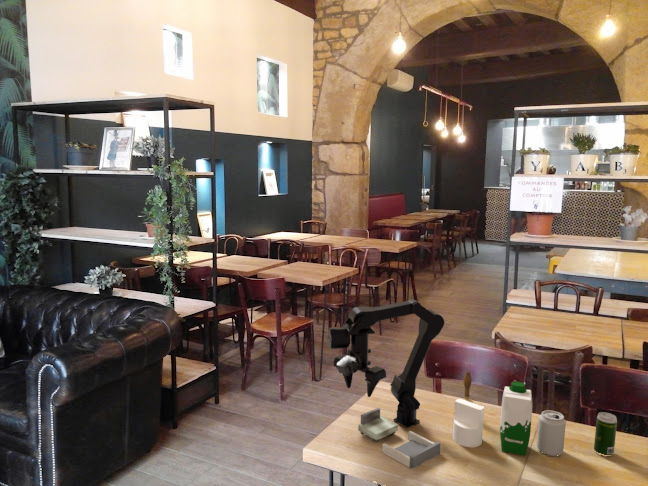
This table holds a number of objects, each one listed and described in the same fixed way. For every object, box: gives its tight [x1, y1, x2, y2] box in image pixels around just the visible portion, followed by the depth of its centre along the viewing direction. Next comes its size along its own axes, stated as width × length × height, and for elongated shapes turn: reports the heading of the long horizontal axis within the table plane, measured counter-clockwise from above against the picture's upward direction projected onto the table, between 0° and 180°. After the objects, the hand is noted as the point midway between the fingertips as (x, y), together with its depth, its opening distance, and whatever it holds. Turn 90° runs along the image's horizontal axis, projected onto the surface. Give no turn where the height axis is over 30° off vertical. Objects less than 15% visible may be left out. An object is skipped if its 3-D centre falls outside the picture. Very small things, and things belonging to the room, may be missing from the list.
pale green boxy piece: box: [357, 407, 399, 443], centre depth 169 cm, size 10×8×6 cm
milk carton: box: [499, 380, 533, 457], centre depth 161 cm, size 9×9×20 cm
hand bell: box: [462, 370, 474, 403], centre depth 183 cm, size 8×8×16 cm
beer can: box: [593, 411, 618, 456], centre depth 160 cm, size 5×5×12 cm
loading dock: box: [381, 430, 441, 470], centre depth 159 cm, size 13×12×4 cm
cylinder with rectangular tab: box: [452, 398, 485, 448], centre depth 166 cm, size 9×9×12 cm
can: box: [536, 409, 567, 457], centre depth 161 cm, size 8×8×12 cm
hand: (358, 392), depth 173 cm, fingers open, 9 cm apart
